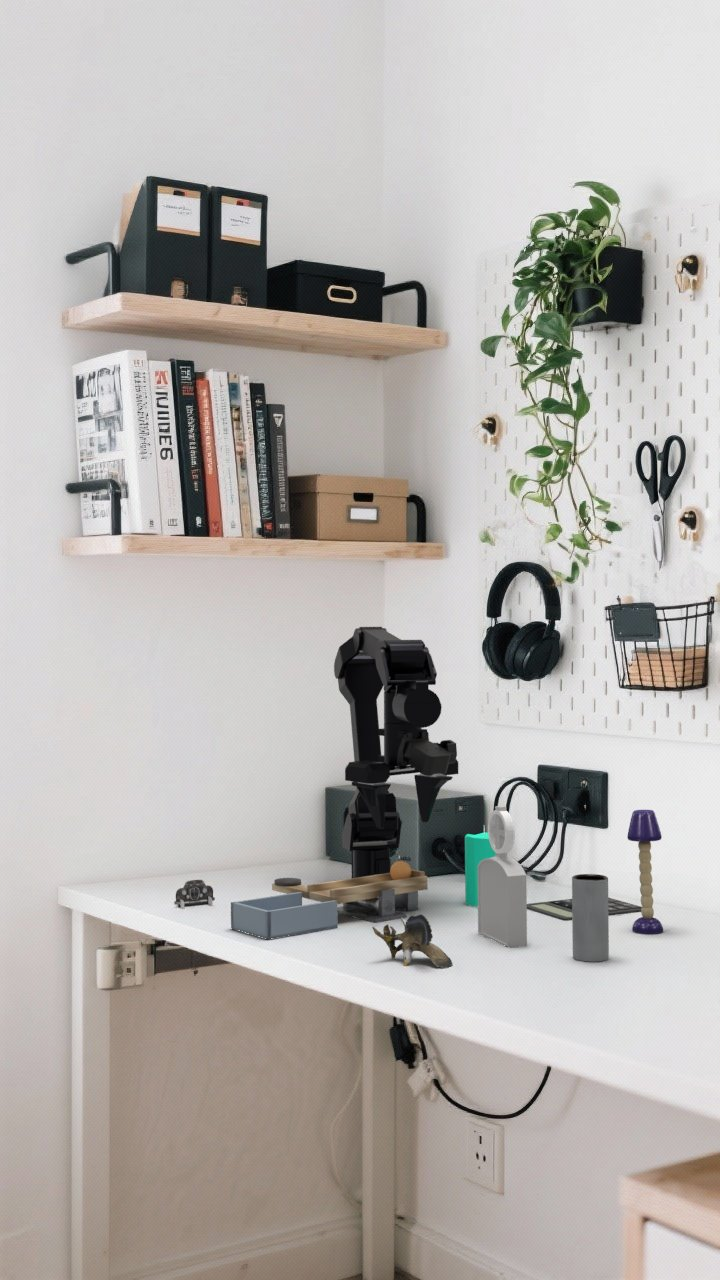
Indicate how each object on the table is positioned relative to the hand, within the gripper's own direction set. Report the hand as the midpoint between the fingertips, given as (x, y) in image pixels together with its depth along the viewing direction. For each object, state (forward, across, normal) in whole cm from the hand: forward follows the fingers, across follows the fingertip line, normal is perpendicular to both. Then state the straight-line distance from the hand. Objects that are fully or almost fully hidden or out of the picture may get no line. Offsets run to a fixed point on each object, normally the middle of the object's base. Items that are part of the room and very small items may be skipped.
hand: (403, 825), depth 209 cm
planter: (+12, -5, -41) cm, 43 cm away
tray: (+12, -23, 0) cm, 26 cm away
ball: (+7, -1, -1) cm, 7 cm away
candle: (+13, +11, -6) cm, 18 cm away
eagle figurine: (+12, -23, -27) cm, 38 cm away
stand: (+12, -5, -1) cm, 13 cm away
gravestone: (+12, -5, -26) cm, 29 cm away
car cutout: (+14, -19, +22) cm, 32 cm away
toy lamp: (+12, +13, -35) cm, 40 cm away
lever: (+9, -7, +4) cm, 13 cm away
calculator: (+13, +19, -20) cm, 30 cm away
